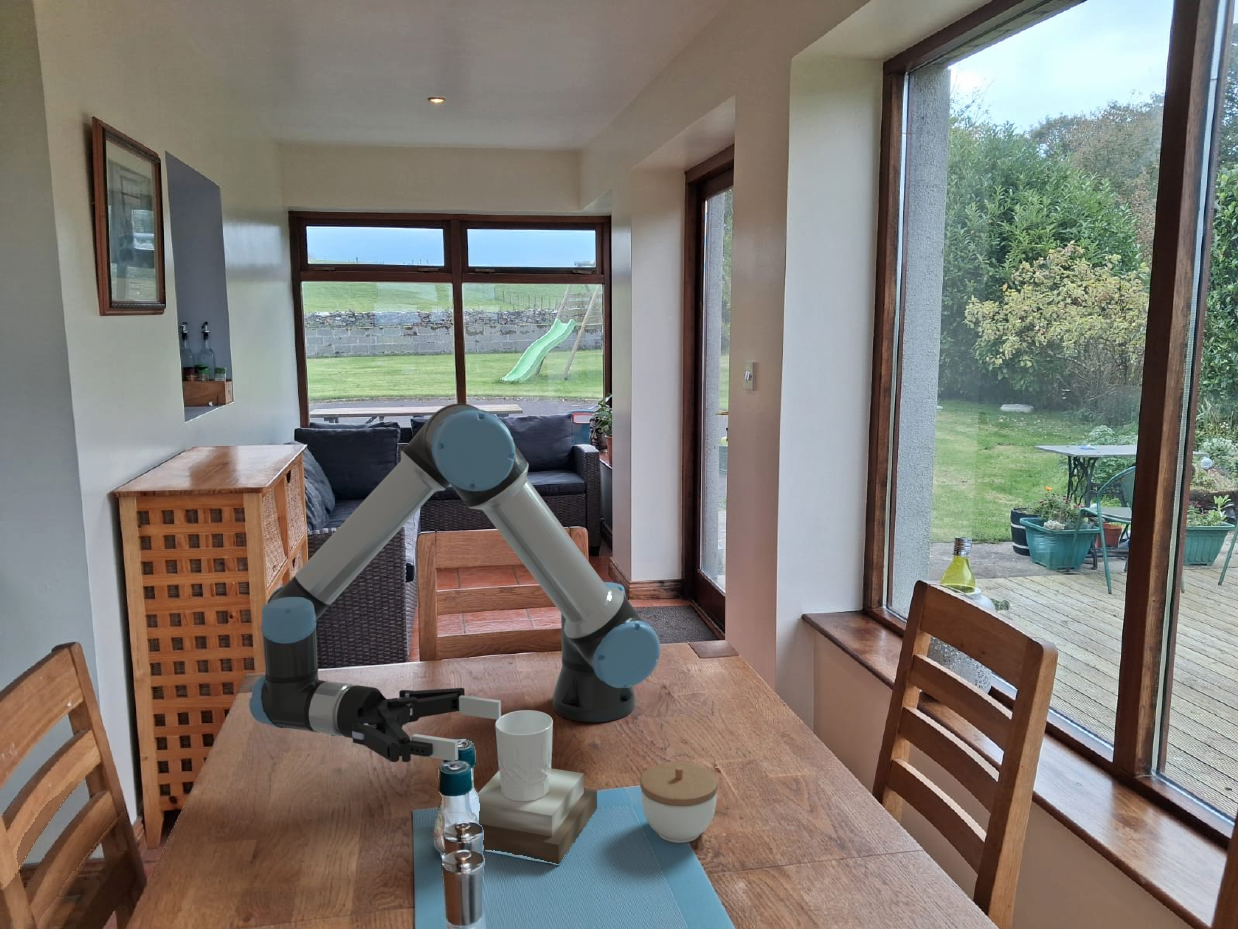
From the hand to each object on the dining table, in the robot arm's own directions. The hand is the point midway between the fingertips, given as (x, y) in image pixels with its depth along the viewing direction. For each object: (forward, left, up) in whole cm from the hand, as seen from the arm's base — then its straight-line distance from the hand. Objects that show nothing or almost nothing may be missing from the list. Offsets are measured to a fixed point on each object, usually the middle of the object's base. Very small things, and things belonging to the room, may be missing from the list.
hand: (479, 729), depth 130 cm
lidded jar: (-27, +9, -14) cm, 31 cm away
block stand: (-6, +3, -14) cm, 15 cm away
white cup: (-6, +4, -8) cm, 11 cm away
